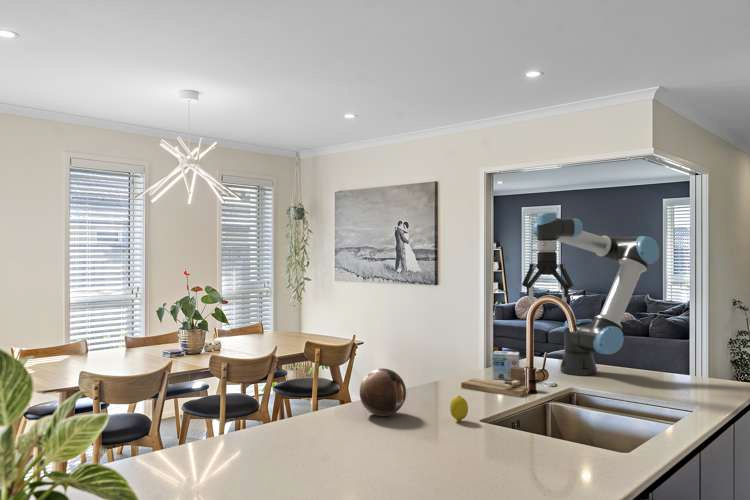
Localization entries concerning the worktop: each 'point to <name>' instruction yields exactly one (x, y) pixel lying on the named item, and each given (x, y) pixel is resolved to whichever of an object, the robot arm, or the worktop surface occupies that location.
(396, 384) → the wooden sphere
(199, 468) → the worktop surface
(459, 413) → the lemon
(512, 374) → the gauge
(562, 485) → the worktop surface
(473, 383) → the board
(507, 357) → the light bulb box
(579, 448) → the worktop surface
